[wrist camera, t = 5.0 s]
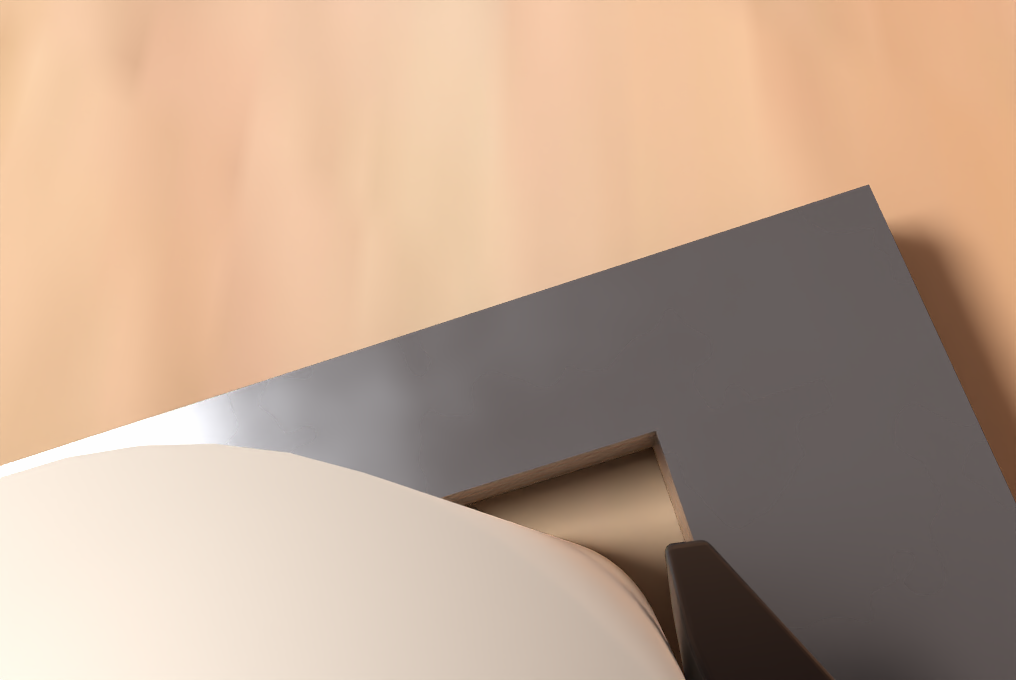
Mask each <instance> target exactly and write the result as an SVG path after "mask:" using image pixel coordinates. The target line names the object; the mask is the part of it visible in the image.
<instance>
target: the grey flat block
mask: <svg viewBox="0 0 1016 680" xmlns="http://www.w3.org/2000/svg"><path fill="white" fill-rule="evenodd" d="M178 444H220V445H229V446H237V447H246V448H254V449H262V450H271V451H279V452H287V453H292V454H296V455H299V456H303V457H307V458H311V459H315V460H318V461H322V462H326V463H330V464H333V465H337V466H341V467H345V468H348V469H352V470H356V471H360V472H363V473H366V474H369V475H372V476H375V477H378V478H381V479H384V480H387V481H390V482H393V483H396V484H399V485H402V486H405V487H408V488H411V489H414V490H417V491H420V492H423V493H426V494H429V495H432V496H435V497H438V498H441V499H444V500H447V501H450V502H453V503H456V504H459V505H462V506H464V505H467V504H470V503H473V502H477V501H480V500H483V499H486V498H490V497H493V496H496V495H499V494H502V493H506V492H509V491H512V490H515V489H518V488H522V487H525V486H528V485H531V484H535V483H538V482H541V481H544V480H547V479H551V478H554V477H557V476H560V475H564V474H567V473H570V472H573V471H576V470H580V469H583V468H586V467H589V466H592V465H596V464H599V463H602V462H605V461H609V460H612V459H615V458H618V457H621V456H625V455H628V454H631V453H634V452H637V451H641V450H644V449H647V448H650V447H653V449H654V452H655V455H656V458H657V461H658V464H659V467H660V470H661V473H662V476H663V479H664V481H665V484H666V487H667V490H668V493H669V496H670V499H671V502H672V505H673V508H674V511H675V514H676V516H677V519H678V522H679V525H680V528H681V531H682V534H683V537H684V540H685V542H688V541H695V540H705V541H707V542H709V543H710V544H711V545H712V546H713V547H714V548H715V549H716V550H717V551H718V553H719V554H720V555H721V556H722V557H723V558H724V559H725V560H726V561H727V562H728V563H729V564H730V566H731V567H732V568H733V569H734V570H735V571H736V572H737V573H738V574H739V575H740V576H741V578H742V579H743V580H744V581H745V582H746V583H747V584H748V585H749V586H750V587H751V588H752V590H753V591H754V592H755V593H756V594H757V595H758V596H759V597H760V598H761V599H762V600H763V602H764V603H765V604H766V605H767V606H768V607H769V608H770V609H771V610H772V611H773V612H774V614H775V615H776V616H777V617H778V618H779V619H780V620H781V621H782V622H783V623H784V624H785V626H786V627H787V628H788V629H789V630H790V631H791V632H792V633H793V634H794V635H795V636H796V638H797V639H798V640H799V641H800V642H801V643H802V644H803V645H804V646H805V647H806V648H807V650H808V651H809V652H810V653H811V654H812V655H813V656H814V657H815V658H816V659H817V660H818V662H819V663H820V664H821V665H822V666H823V667H824V668H825V669H826V670H827V671H828V672H829V674H830V675H831V676H832V677H833V678H834V679H835V680H1016V503H1015V500H1014V498H1013V496H1012V494H1011V492H1010V490H1009V487H1008V485H1007V483H1006V481H1005V479H1004V477H1003V474H1002V472H1001V470H1000V468H999V466H998V464H997V461H996V459H995V457H994V455H993V453H992V451H991V448H990V446H989V444H988V442H987V440H986V438H985V435H984V433H983V431H982V429H981V427H980V425H979V422H978V420H977V418H976V416H975V414H974V412H973V409H972V407H971V405H970V403H969V401H968V399H967V396H966V394H965V392H964V390H963V388H962V386H961V383H960V381H959V379H958V377H957V375H956V373H955V370H954V368H953V366H952V364H951V362H950V360H949V357H948V355H947V353H946V351H945V349H944V347H943V344H942V342H941V340H940V338H939V336H938V334H937V331H936V329H935V327H934V325H933V323H932V321H931V318H930V316H929V314H928V312H927V310H926V308H925V305H924V303H923V301H922V299H921V297H920V295H919V292H918V290H917V288H916V286H915V284H914V282H913V279H912V277H911V275H910V273H909V271H908V269H907V266H906V264H905V262H904V260H903V258H902V256H901V253H900V251H899V249H898V247H897V245H896V243H895V240H894V238H893V236H892V234H891V232H890V230H889V227H888V225H887V223H886V221H885V219H884V217H883V214H882V212H881V210H880V208H879V206H878V204H877V201H876V199H875V197H874V195H873V193H872V191H871V188H870V186H869V185H866V186H863V187H860V188H857V189H854V190H850V191H847V192H844V193H841V194H838V195H835V196H832V197H829V198H826V199H823V200H820V201H817V202H813V203H810V204H807V205H804V206H801V207H798V208H795V209H792V210H789V211H786V212H783V213H780V214H776V215H773V216H770V217H767V218H764V219H761V220H758V221H755V222H752V223H749V224H746V225H743V226H740V227H736V228H733V229H730V230H727V231H724V232H721V233H718V234H715V235H712V236H709V237H706V238H703V239H699V240H696V241H693V242H690V243H687V244H684V245H681V246H678V247H675V248H672V249H669V250H666V251H662V252H659V253H656V254H653V255H650V256H647V257H644V258H641V259H638V260H635V261H632V262H629V263H626V264H622V265H619V266H616V267H613V268H610V269H607V270H604V271H601V272H598V273H595V274H592V275H589V276H585V277H582V278H579V279H576V280H573V281H570V282H567V283H564V284H561V285H558V286H555V287H552V288H548V289H545V290H542V291H539V292H536V293H533V294H530V295H527V296H524V297H521V298H518V299H515V300H512V301H508V302H505V303H502V304H499V305H496V306H493V307H490V308H487V309H484V310H481V311H478V312H475V313H471V314H468V315H465V316H462V317H459V318H456V319H453V320H450V321H447V322H444V323H441V324H438V325H434V326H431V327H428V328H425V329H422V330H419V331H416V332H413V333H410V334H407V335H404V336H401V337H398V338H394V339H391V340H388V341H385V342H382V343H379V344H376V345H373V346H370V347H367V348H364V349H361V350H357V351H354V352H351V353H348V354H345V355H342V356H339V357H336V358H333V359H330V360H327V361H324V362H320V363H317V364H314V365H311V366H308V367H305V368H302V369H299V370H296V371H293V372H290V373H287V374H284V375H280V376H277V377H274V378H271V379H268V380H265V381H262V382H259V383H256V384H253V385H250V386H247V387H243V388H240V389H237V390H234V391H231V392H228V393H225V394H222V395H219V396H216V397H213V398H210V399H206V400H203V401H200V402H197V403H194V404H191V405H188V406H185V407H182V408H179V409H176V410H173V411H170V412H166V413H163V414H160V415H157V416H154V417H151V418H148V419H145V420H142V421H139V422H136V423H133V424H129V425H126V426H123V427H120V428H117V429H114V430H111V431H108V432H105V433H102V434H99V435H96V436H92V437H89V438H86V439H83V440H80V441H77V442H74V443H71V444H68V445H65V446H62V447H59V448H56V449H52V450H49V451H46V452H43V453H40V454H37V455H34V456H31V457H28V458H25V459H22V460H19V461H15V462H12V463H9V464H6V465H3V466H0V477H2V476H5V475H8V474H12V473H15V472H18V471H22V470H25V469H28V468H32V467H35V466H38V465H42V464H45V463H48V462H52V461H55V460H58V459H62V458H65V457H70V456H76V455H82V454H89V453H95V452H101V451H107V450H114V449H120V448H126V447H132V446H139V445H178Z"/></svg>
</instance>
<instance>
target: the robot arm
mask: <svg viewBox="0 0 1016 680" xmlns="http://www.w3.org/2000/svg"><path fill="white" fill-rule="evenodd" d="M665 558H666V565H667V573H668V581H669V588H670V596H671V603H672V610H673V616H674V622H675V628H676V633H677V638H678V643H679V649H680V654H681V659H682V665H683V670H684V675H685V680H835V679H834V678H833V677H832V676H831V675H830V674H829V672H828V671H827V670H826V669H825V668H824V667H823V666H822V665H821V664H820V663H819V662H818V660H817V659H816V658H815V657H814V656H813V655H812V654H811V653H810V652H809V651H808V650H807V648H806V647H805V646H804V645H803V644H802V643H801V642H800V641H799V640H798V639H797V638H796V636H795V635H794V634H793V633H792V632H791V631H790V630H789V629H788V628H787V627H786V626H785V624H784V623H783V622H782V621H781V620H780V619H779V618H778V617H777V616H776V615H775V614H774V612H773V611H772V610H771V609H770V608H769V607H768V606H767V605H766V604H765V603H764V602H763V600H762V599H761V598H760V597H759V596H758V595H757V594H756V593H755V592H754V591H753V590H752V588H751V587H750V586H749V585H748V584H747V583H746V582H745V581H744V580H743V579H742V578H741V576H740V575H739V574H738V573H737V572H736V571H735V570H734V569H733V568H732V567H731V566H730V564H729V563H728V562H727V561H726V560H725V559H724V558H723V557H722V556H721V555H720V554H719V553H718V551H717V550H716V549H715V548H714V547H713V546H712V545H711V544H710V543H709V542H707V541H705V540H695V541H688V542H680V543H673V544H669V545H668V546H667V547H666V549H665Z"/></svg>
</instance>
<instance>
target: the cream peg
mask: <svg viewBox="0 0 1016 680" xmlns="http://www.w3.org/2000/svg"><path fill="white" fill-rule="evenodd" d="M0 680H685V678H684V676H683V674H682V671H681V669H680V667H679V665H678V663H677V661H676V659H675V656H674V654H673V652H672V650H671V648H670V646H669V644H668V641H667V639H666V637H665V635H664V633H663V631H662V629H661V626H660V624H659V622H658V620H657V618H656V616H655V614H654V612H653V609H652V608H651V606H650V604H649V603H648V601H647V599H646V598H645V596H644V594H643V593H642V592H641V590H640V589H639V588H638V587H637V585H636V584H635V583H634V581H633V580H632V579H631V578H630V577H629V576H628V575H627V574H626V573H625V572H624V571H623V570H622V569H621V568H619V567H618V566H617V565H615V564H614V563H613V562H611V561H610V560H609V559H607V558H606V557H604V556H602V555H600V554H599V553H597V552H595V551H593V550H591V549H588V548H586V547H584V546H581V545H579V544H576V543H573V542H570V541H567V540H564V539H561V538H558V537H555V536H552V535H549V534H546V533H543V532H540V531H537V530H534V529H531V528H528V527H525V526H522V525H519V524H516V523H513V522H510V521H507V520H504V519H501V518H498V517H495V516H492V515H489V514H486V513H483V512H480V511H477V510H474V509H471V508H468V507H465V506H462V505H459V504H456V503H453V502H450V501H447V500H444V499H441V498H438V497H435V496H432V495H429V494H426V493H423V492H420V491H417V490H414V489H411V488H408V487H405V486H402V485H399V484H396V483H393V482H390V481H387V480H384V479H381V478H378V477H375V476H372V475H369V474H366V473H363V472H360V471H356V470H352V469H348V468H345V467H341V466H337V465H333V464H330V463H326V462H322V461H318V460H315V459H311V458H307V457H303V456H299V455H296V454H292V453H287V452H279V451H271V450H262V449H254V448H246V447H237V446H229V445H220V444H178V445H139V446H132V447H126V448H120V449H114V450H107V451H101V452H95V453H89V454H82V455H76V456H70V457H65V458H62V459H58V460H55V461H52V462H48V463H45V464H42V465H38V466H35V467H32V468H28V469H25V470H22V471H18V472H15V473H12V474H8V475H5V476H2V477H0Z"/></svg>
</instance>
